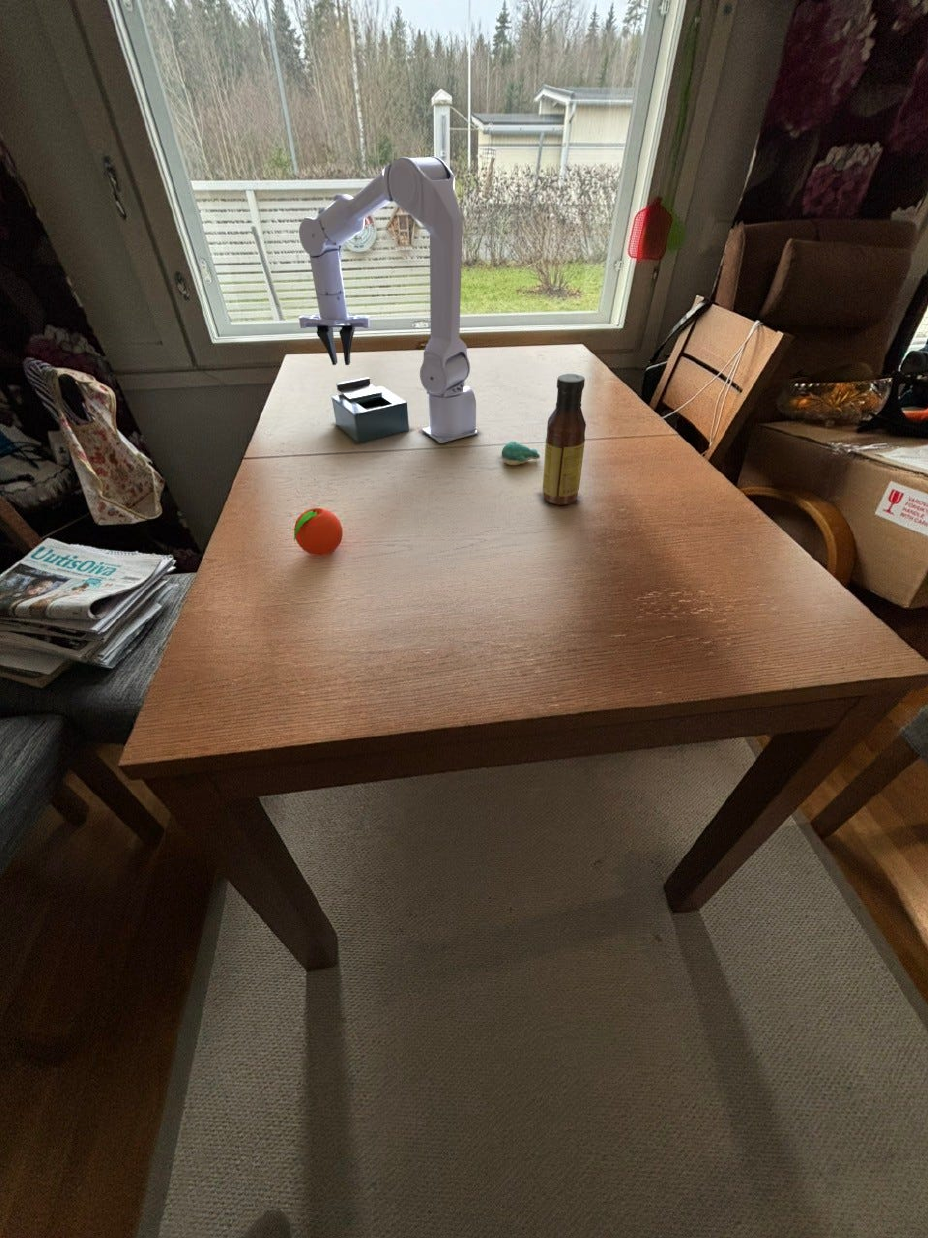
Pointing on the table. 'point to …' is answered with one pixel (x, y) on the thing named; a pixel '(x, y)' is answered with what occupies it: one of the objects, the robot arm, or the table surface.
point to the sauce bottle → (565, 442)
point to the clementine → (318, 531)
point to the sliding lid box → (371, 415)
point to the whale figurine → (518, 453)
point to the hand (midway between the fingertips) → (341, 363)
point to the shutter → (357, 389)
